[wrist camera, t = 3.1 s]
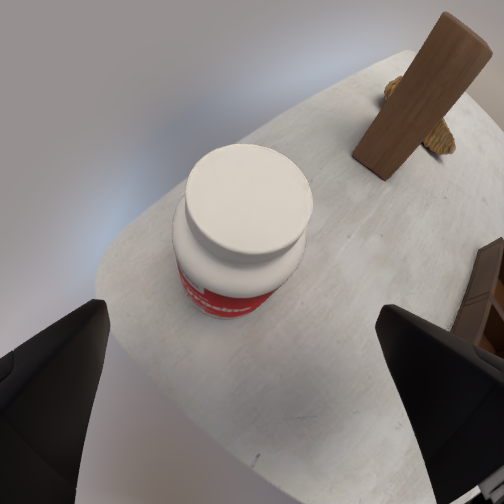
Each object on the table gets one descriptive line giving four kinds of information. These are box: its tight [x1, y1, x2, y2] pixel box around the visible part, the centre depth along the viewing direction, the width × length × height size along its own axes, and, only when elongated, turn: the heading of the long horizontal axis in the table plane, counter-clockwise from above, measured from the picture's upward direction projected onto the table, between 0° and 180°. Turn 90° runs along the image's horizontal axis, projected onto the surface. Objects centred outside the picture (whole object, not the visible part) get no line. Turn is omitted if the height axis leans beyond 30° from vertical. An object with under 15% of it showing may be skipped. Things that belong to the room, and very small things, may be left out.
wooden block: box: [353, 12, 493, 180], centre depth 20 cm, size 9×4×18 cm, turn 145°
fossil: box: [384, 76, 456, 155], centre depth 30 cm, size 12×6×9 cm
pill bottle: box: [172, 144, 313, 319], centre depth 15 cm, size 6×6×11 cm
